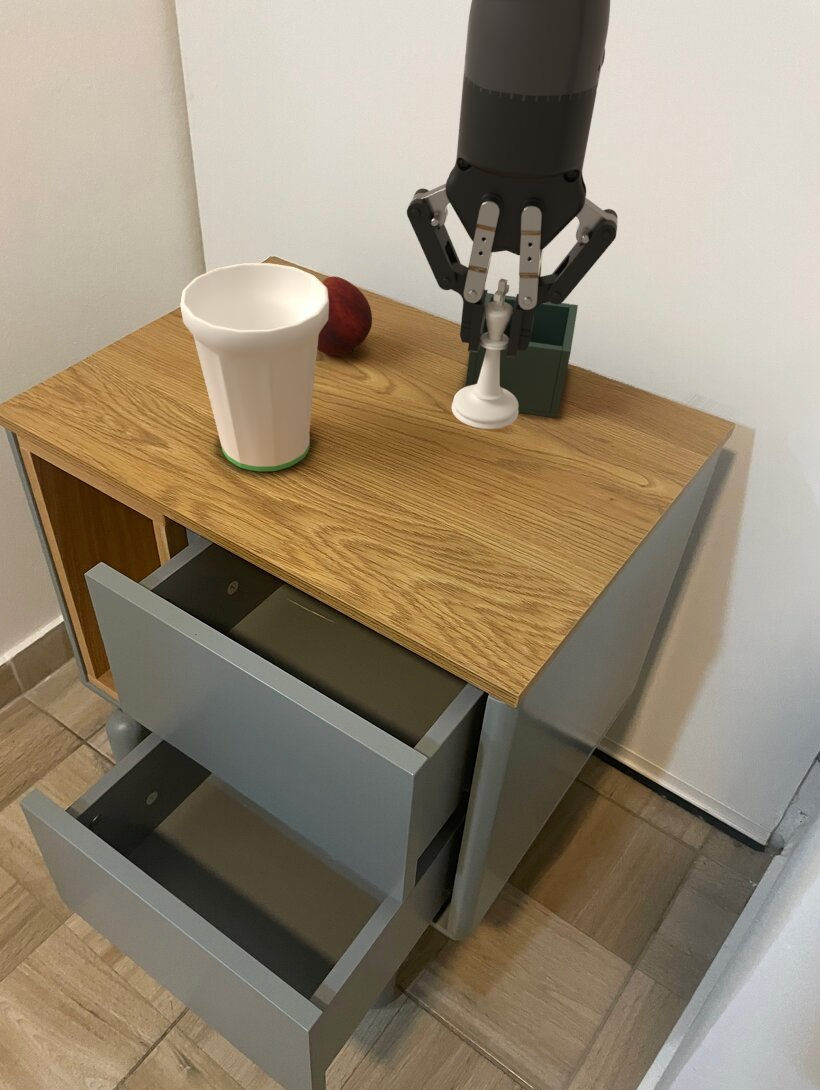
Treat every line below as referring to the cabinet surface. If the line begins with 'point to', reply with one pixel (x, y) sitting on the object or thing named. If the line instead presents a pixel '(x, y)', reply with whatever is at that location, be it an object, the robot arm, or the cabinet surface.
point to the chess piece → (489, 373)
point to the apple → (344, 318)
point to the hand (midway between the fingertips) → (494, 348)
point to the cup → (258, 357)
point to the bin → (534, 359)
